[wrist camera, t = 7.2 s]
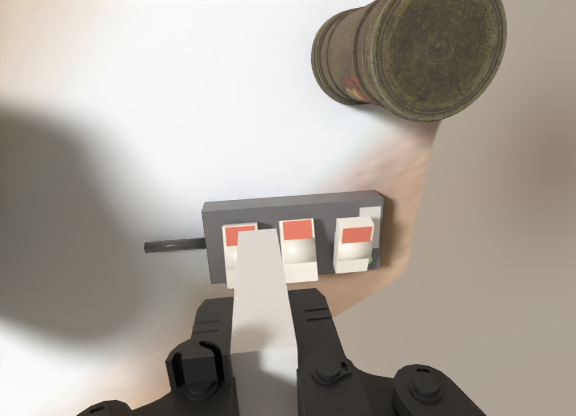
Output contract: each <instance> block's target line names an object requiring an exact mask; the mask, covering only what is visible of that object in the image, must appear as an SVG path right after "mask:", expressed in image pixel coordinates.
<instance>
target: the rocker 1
mask: <svg viewBox="0 0 576 416" xmlns="http://www.w3.org/2000/svg"><path fill="white" fill-rule="evenodd" d="M251 230H258V229H257V222H251V223H238V224H225V225H223V226H222V232H223V243H224V255H225V267H226V278H227V289H230V288H235V275H236V260H237V245H238V231H251Z"/></svg>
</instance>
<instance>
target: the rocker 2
mask: <svg viewBox="0 0 576 416" xmlns="http://www.w3.org/2000/svg"><path fill="white" fill-rule="evenodd" d="M279 230H280V243H281V256H282V263H283V269H284V275H285V280H286V283H296V282H307V281H318V272H317V260H316V247H315V235H314V223H313V218H312V219H299V220H286V221H279Z"/></svg>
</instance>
